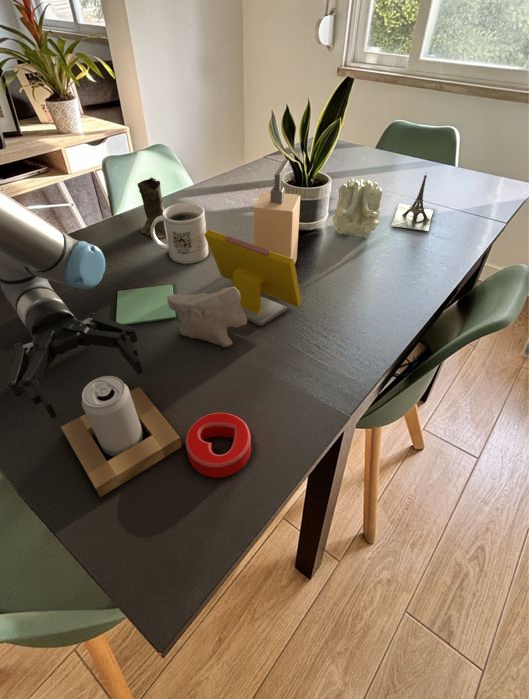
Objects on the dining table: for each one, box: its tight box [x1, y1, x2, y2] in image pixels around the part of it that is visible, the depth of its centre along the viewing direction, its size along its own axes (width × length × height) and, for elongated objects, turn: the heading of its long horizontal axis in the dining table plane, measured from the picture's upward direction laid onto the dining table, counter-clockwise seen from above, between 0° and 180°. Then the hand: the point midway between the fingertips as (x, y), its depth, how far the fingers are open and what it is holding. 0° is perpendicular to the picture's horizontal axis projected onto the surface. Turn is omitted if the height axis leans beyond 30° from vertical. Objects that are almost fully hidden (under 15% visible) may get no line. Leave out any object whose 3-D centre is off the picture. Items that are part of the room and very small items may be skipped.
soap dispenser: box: [252, 159, 301, 264], centre depth 97 cm, size 13×9×22 cm
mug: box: [150, 202, 209, 264], centre depth 104 cm, size 10×12×11 cm
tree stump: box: [137, 177, 166, 239], centre depth 112 cm, size 10×10×13 cm
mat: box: [115, 284, 177, 326], centre depth 92 cm, size 12×12×1 cm
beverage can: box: [81, 375, 144, 457], centre depth 62 cm, size 6×6×12 cm
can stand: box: [60, 386, 183, 498], centre depth 65 cm, size 13×13×2 cm
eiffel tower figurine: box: [391, 171, 434, 232], centre depth 117 cm, size 15×10×13 cm
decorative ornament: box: [185, 412, 252, 478], centre depth 64 cm, size 10×10×3 cm
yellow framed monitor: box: [204, 229, 302, 327], centre depth 86 cm, size 20×8×16 cm, turn 56°
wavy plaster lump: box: [331, 177, 383, 238], centre depth 114 cm, size 18×13×16 cm
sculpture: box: [167, 286, 248, 348], centre depth 78 cm, size 17×5×15 cm, turn 69°
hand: (97, 388), depth 63 cm, fingers open, 13 cm apart
